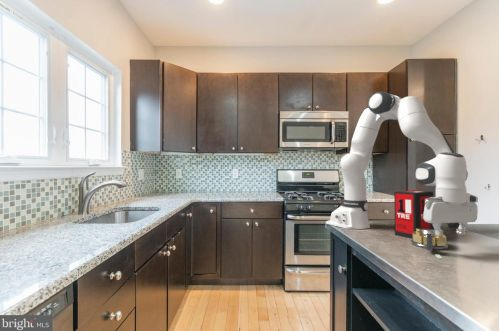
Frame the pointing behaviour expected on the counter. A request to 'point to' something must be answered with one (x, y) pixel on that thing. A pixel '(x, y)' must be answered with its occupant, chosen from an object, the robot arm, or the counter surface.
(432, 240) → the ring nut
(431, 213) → the robot arm
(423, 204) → the cleaning product box
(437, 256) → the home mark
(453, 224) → the beverage cup
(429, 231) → the flange
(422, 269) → the counter surface
